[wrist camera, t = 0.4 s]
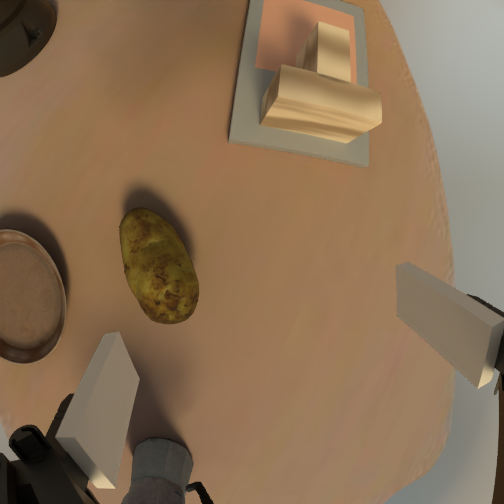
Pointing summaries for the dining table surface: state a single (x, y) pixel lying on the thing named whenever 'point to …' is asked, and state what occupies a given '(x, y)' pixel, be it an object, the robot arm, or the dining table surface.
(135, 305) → the dining table surface
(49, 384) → the dining table surface
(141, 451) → the moka pot
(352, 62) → the board
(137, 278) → the potato
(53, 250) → the dining table surface
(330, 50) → the t block
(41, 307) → the plant saucer
